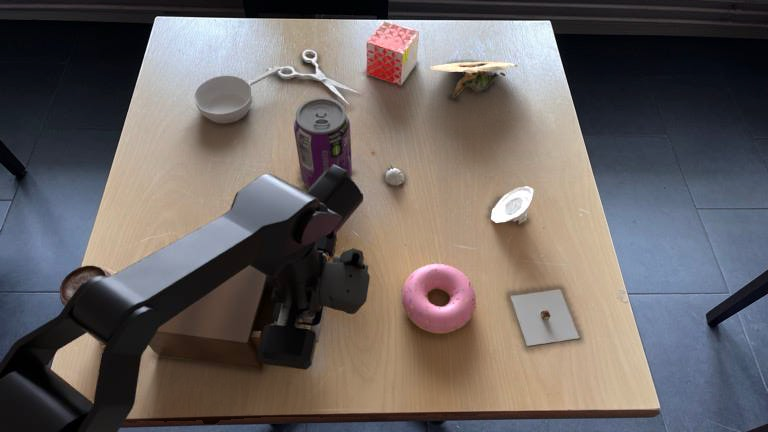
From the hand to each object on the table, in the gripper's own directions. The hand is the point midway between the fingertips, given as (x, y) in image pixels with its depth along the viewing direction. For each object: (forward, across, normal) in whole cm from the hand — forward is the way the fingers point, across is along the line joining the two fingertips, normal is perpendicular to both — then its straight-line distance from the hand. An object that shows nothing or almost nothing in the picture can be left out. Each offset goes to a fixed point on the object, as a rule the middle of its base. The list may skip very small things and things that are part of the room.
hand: (307, 318), depth 72 cm
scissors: (+5, +54, +9) cm, 55 cm away
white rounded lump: (+5, +30, -9) cm, 32 cm away
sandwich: (+5, +58, -21) cm, 62 cm away
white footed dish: (+5, +25, -29) cm, 39 cm away
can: (+5, -3, +26) cm, 27 cm away
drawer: (+3, 0, +7) cm, 7 cm away
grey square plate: (+5, +7, -34) cm, 35 cm away
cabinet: (+4, 0, +13) cm, 14 cm away
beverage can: (+5, +29, +3) cm, 29 cm away
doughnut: (+5, +7, -18) cm, 20 cm away
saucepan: (+5, +46, +23) cm, 52 cm away
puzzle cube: (+5, +60, -5) cm, 60 cm away
